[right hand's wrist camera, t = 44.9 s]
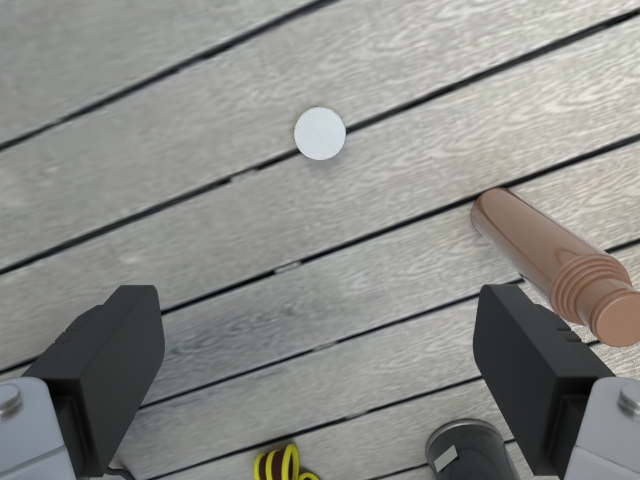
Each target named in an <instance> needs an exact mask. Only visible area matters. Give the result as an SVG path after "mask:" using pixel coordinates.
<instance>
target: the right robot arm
mask: <svg viewBox="0 0 640 480" xmlns="http://www.w3.org/2000/svg"><path fill="white" fill-rule="evenodd" d="M164 351H165V340H164V333H163V326H162V319H161V312H160V305H159V299H158V293H157V290H156V288H155V287H154V286H153V285H121V286H120V287H118V289H117V290H116V291H115V292H114V293H113V294H112V295H111V296H110V297H109V299H108V300H107V301H106V302H105V303H104V304H103V305H97V306H95V307H94V308H92V309H90V310H88V311H87V312H85V313H83V314H81V315H80V316H78V317H77V318H76V319H75V320H74V321H73V322H72V323H71V325H70V326H69V327H68V328H67V329H66V332H63V333H62V334H61V335H60V336H59V337H58V338H57V339H56V340H55V343H52V344H51V345H50V346H49V348H48V349H47V350H46V351H45V352H44V353H43V354H42V355H41V356H40V357H39V358H38V359H37V360H36V361H35V362H34V363H33V364H32V365H31V366H30V367H29V368H28V369H27V371H26V372H25V373H24V374H23V375H22V376H21V377H16V378H10V379H6V380H2V381H0V480H89V479H90V477H103V475H104V473H106V474H108V475H120V476H122V477H124V478H125V479H126V480H135V479H134V478H133V477H132V476H131V475H130V474H129V473H128V472H127V471H126V470H123V469H112V468H110V467H108V466H109V464H110V462H111V460H112V458H113V456H114V454H115V452H116V450H117V448H118V447H119V445H120V443H121V441H122V439H123V437H124V435H125V433H126V431H127V429H128V428H129V426H130V424H131V422H132V420H133V418H134V416H135V414H136V412H137V410H138V409H139V407H140V405H141V403H142V401H143V399H144V397H145V395H146V393H147V391H148V390H149V388H150V386H151V384H152V382H153V380H154V378H155V376H156V374H157V372H158V371H159V369H160V367H161V365H162V362H163V358H164ZM473 353H474V358H475V362H476V364H477V367H478V369H479V370H480V372H481V374H482V376H483V378H484V380H485V382H486V384H487V386H488V388H489V390H490V392H491V394H492V395H493V397H494V399H495V401H496V403H497V405H498V407H499V409H500V411H501V413H502V415H503V417H504V419H505V420H506V422H507V424H508V426H509V428H510V430H511V432H512V434H513V436H514V438H515V440H516V442H517V444H518V445H519V447H520V449H521V451H522V453H523V455H524V457H525V459H526V461H527V463H528V465H529V467H530V469H531V470H532V472H533V474H534V476H558V477H559V479H560V480H640V381H638V380H634V379H630V378H624V377H617V376H616V375H615V374H614V373H613V372H612V371H611V370H610V369H609V368H608V367H607V366H606V365H605V364H604V363H603V362H602V361H601V360H600V359H599V357H598V356H597V355H596V354H595V353H594V352H593V351H592V350H591V349H590V348H589V347H588V346H587V345H586V344H585V343H584V342H582V341H581V338H580V337H579V336H578V335H577V334H576V333H575V332H574V331H571V328H570V327H569V326H568V325H567V324H566V323H565V322H564V321H563V319H562V318H561V317H560V316H559V315H557V314H555V313H554V312H552V311H550V310H548V309H547V308H545V307H543V306H542V305H540V304H534V303H533V302H532V301H531V300H530V299H529V298H528V297H527V295H526V294H525V293H524V292H523V291H522V290H521V289H520V288H519V287H518V286H517V285H514V284H485V285H483V286H482V288H481V291H480V295H479V302H478V309H477V316H476V322H475V329H474V336H473Z"/></svg>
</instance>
